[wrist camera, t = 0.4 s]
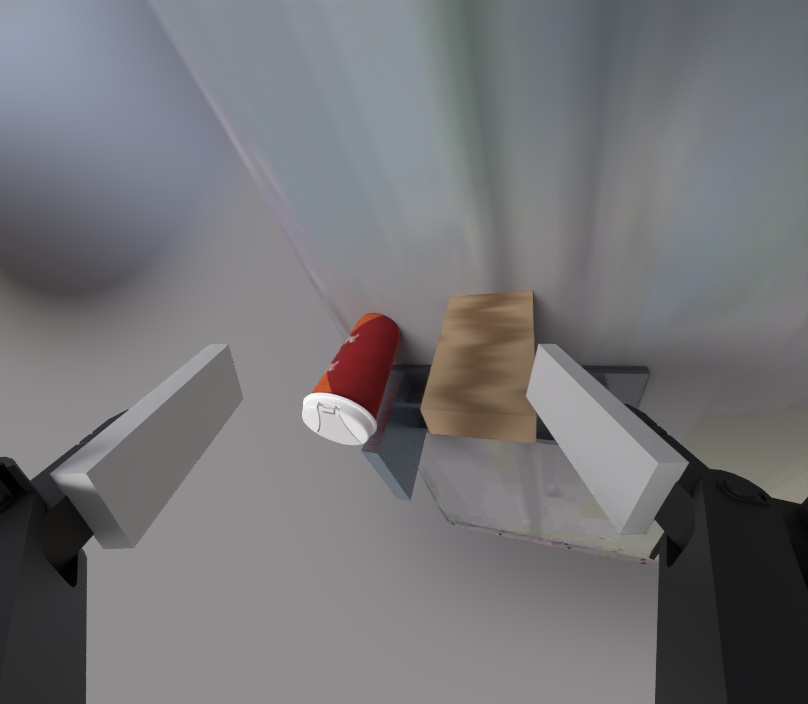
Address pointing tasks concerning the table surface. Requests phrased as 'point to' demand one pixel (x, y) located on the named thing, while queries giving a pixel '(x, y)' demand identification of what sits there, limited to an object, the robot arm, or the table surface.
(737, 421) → the table surface
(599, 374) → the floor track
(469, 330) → the door panel
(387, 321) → the paper cup
